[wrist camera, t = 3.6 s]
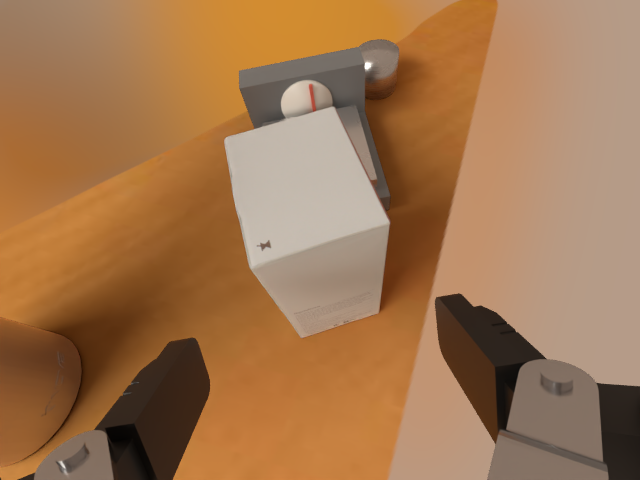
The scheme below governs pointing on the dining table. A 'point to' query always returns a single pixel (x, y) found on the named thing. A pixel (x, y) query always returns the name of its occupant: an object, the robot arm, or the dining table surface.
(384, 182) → the scale base
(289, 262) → the small box
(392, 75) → the cylinder
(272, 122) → the platter
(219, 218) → the dining table surface
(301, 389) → the dining table surface
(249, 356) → the dining table surface
